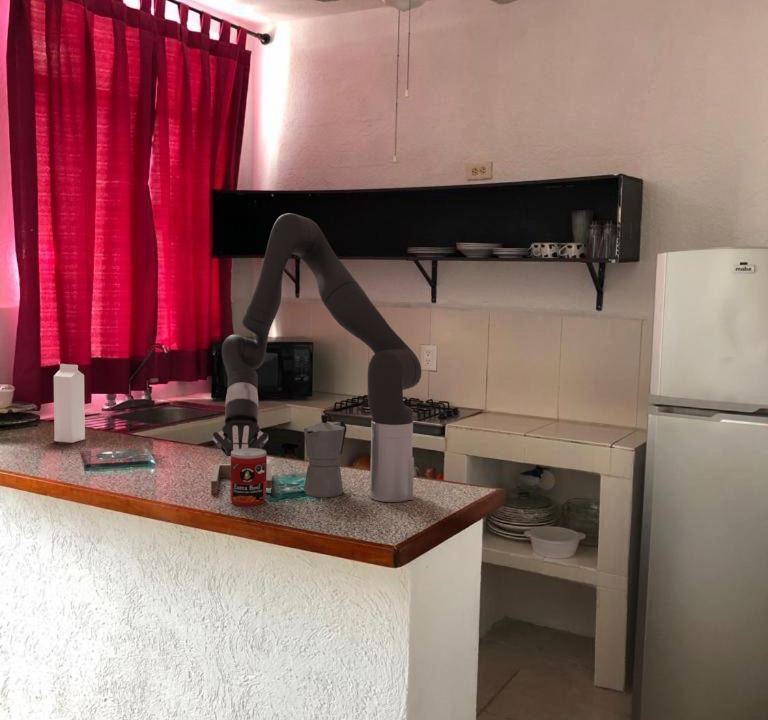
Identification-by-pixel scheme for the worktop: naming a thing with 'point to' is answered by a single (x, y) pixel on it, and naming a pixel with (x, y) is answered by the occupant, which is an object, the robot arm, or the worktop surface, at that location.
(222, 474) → the walnut u-shaped block
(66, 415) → the milk
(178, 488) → the worktop surface
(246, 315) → the robot arm
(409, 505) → the worktop surface
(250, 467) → the canned food
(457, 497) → the worktop surface
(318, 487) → the coffeepot
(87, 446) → the worktop surface
